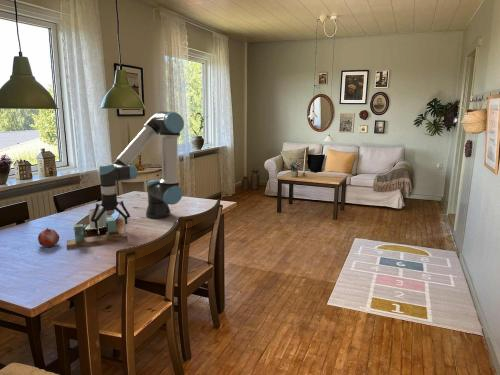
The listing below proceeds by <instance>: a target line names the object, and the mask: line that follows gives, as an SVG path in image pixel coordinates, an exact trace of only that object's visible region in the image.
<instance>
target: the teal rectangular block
mask: <svg viewBox="0 0 500 375" xmlns="http://www.w3.org/2000/svg"><path fill="white" fill-rule="evenodd" d="M112 231H117V224H116V218H107V221H106V232H112Z"/></svg>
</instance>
